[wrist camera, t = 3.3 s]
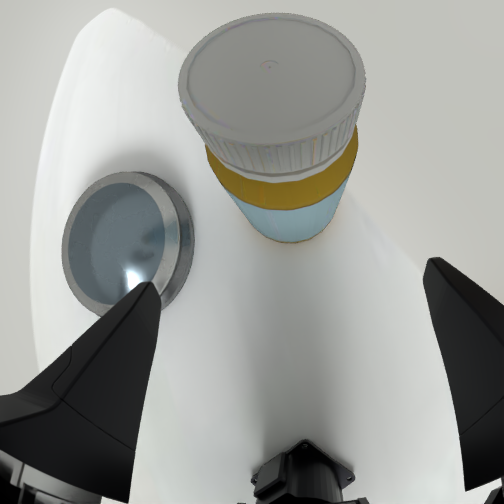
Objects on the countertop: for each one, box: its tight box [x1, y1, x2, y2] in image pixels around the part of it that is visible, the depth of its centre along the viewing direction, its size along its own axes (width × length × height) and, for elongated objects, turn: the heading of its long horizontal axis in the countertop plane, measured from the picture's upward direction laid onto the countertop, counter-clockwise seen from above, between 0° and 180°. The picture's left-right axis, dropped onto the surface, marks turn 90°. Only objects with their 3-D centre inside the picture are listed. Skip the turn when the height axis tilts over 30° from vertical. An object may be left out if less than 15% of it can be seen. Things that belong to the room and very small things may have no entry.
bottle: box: [178, 13, 366, 243], centre depth 15 cm, size 7×7×15 cm
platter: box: [62, 172, 182, 316], centre depth 23 cm, size 12×12×1 cm
